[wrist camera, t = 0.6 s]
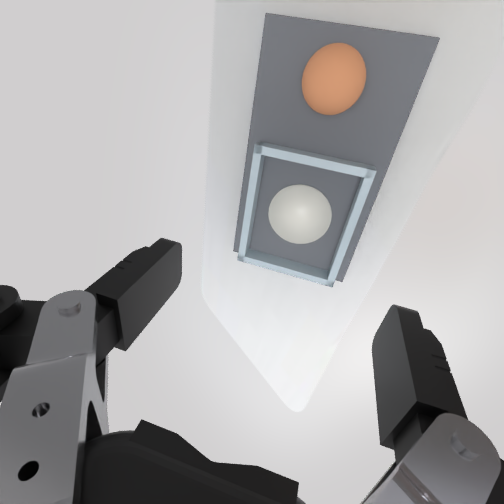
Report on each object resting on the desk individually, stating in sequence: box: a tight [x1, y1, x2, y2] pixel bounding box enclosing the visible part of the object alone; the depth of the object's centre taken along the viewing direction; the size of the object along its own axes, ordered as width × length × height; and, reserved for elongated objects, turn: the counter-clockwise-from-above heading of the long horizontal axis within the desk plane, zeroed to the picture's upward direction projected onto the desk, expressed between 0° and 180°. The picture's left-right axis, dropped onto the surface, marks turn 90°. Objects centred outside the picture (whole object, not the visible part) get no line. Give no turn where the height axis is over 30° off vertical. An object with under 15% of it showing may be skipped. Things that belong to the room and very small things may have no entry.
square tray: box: [238, 141, 377, 287], centre depth 31 cm, size 14×12×2 cm
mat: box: [233, 13, 440, 282], centre depth 30 cm, size 24×14×1 cm, turn 171°
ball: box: [302, 43, 366, 115], centre depth 23 cm, size 5×5×5 cm
